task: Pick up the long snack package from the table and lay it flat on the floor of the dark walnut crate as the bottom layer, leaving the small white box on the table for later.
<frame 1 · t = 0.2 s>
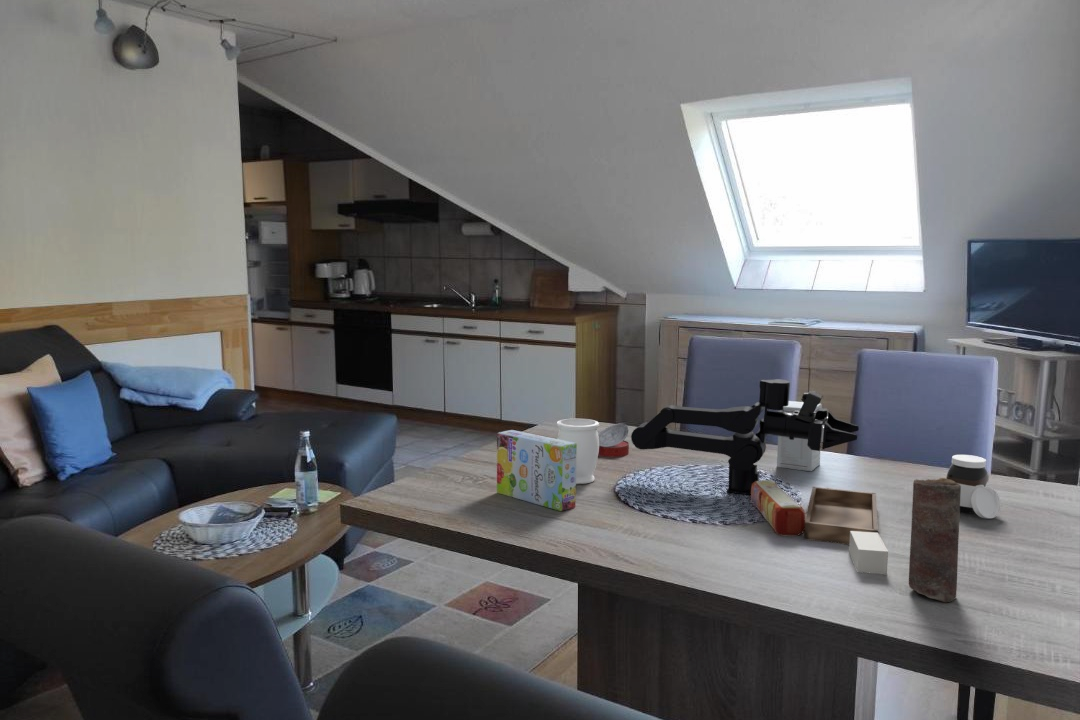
hand: (857, 432, 185), 17 cm above the table, tool horizontal, fingers open, 9 cm apart
snack box: (535, 500, 190), on the table
snack package: (774, 521, 176), on the table
canned food: (611, 453, 234), on the table
spread jar: (972, 512, 182), on the table
crate: (841, 522, 174), on the table
jar: (577, 480, 206), on the table
small white box: (867, 563, 152), on the table
weathered brick: (930, 595, 138), on the table
supplement box: (798, 466, 220), on the table
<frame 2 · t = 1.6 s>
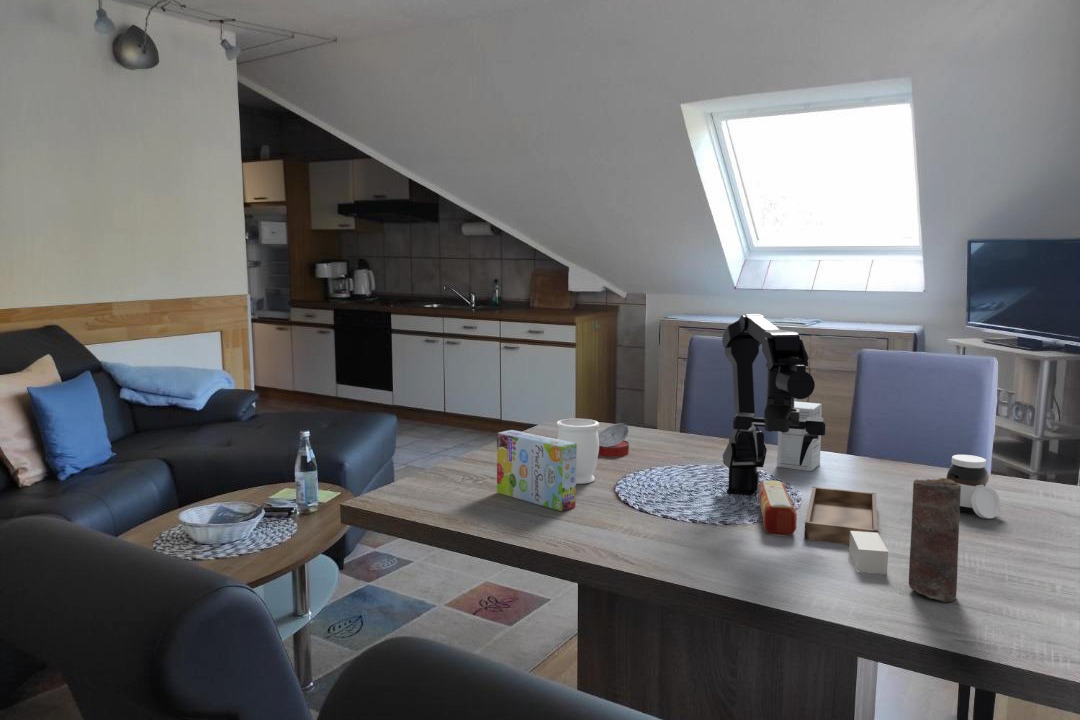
hand: (778, 463, 174), 13 cm above the table, tool pointing down, fingers open, 9 cm apart
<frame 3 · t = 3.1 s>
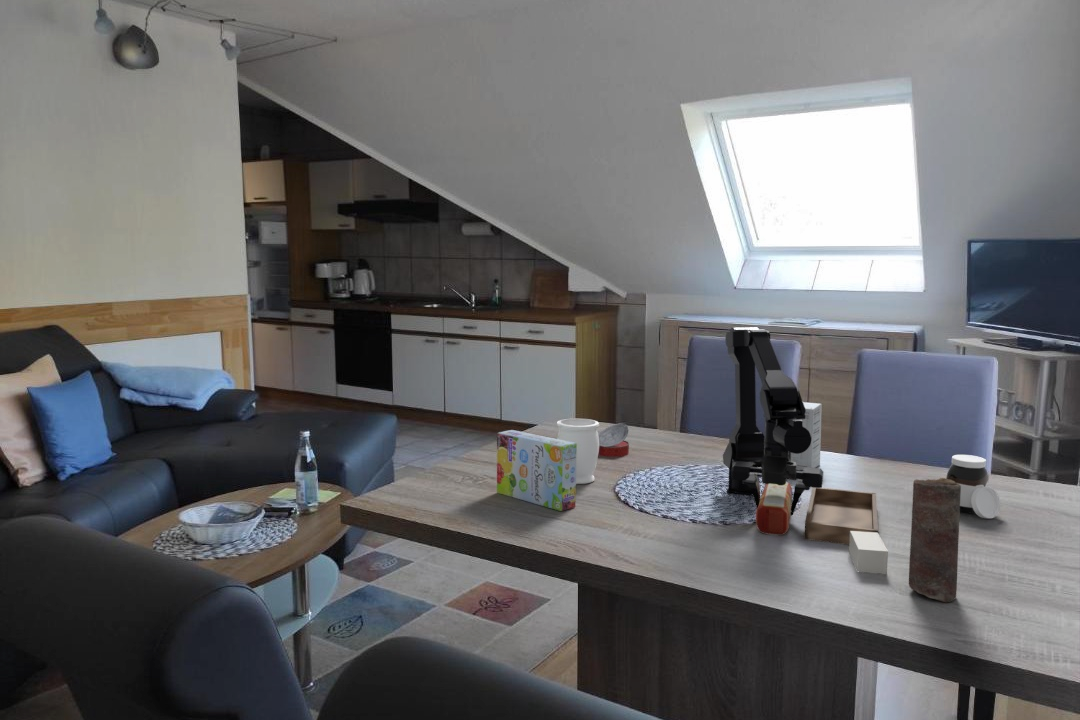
hand: (775, 512, 176), 2 cm above the table, tool pointing down, fingers closed on snack package, 6 cm apart
snack package: (774, 521, 176), on the table, touching gripper
everything else where it was.
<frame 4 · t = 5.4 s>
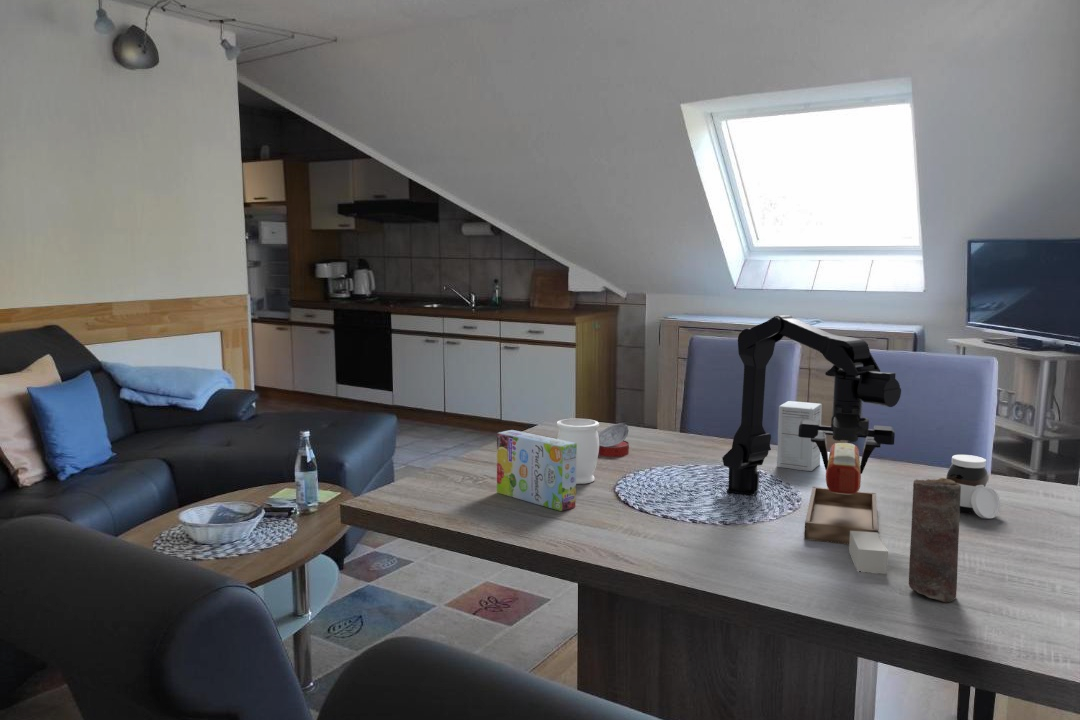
hand: (843, 471, 173), 11 cm above the table, tool pointing down, fingers closed on snack package, 6 cm apart
snack package: (842, 482, 173), point 9 cm above the table, touching gripper
everything else where it was.
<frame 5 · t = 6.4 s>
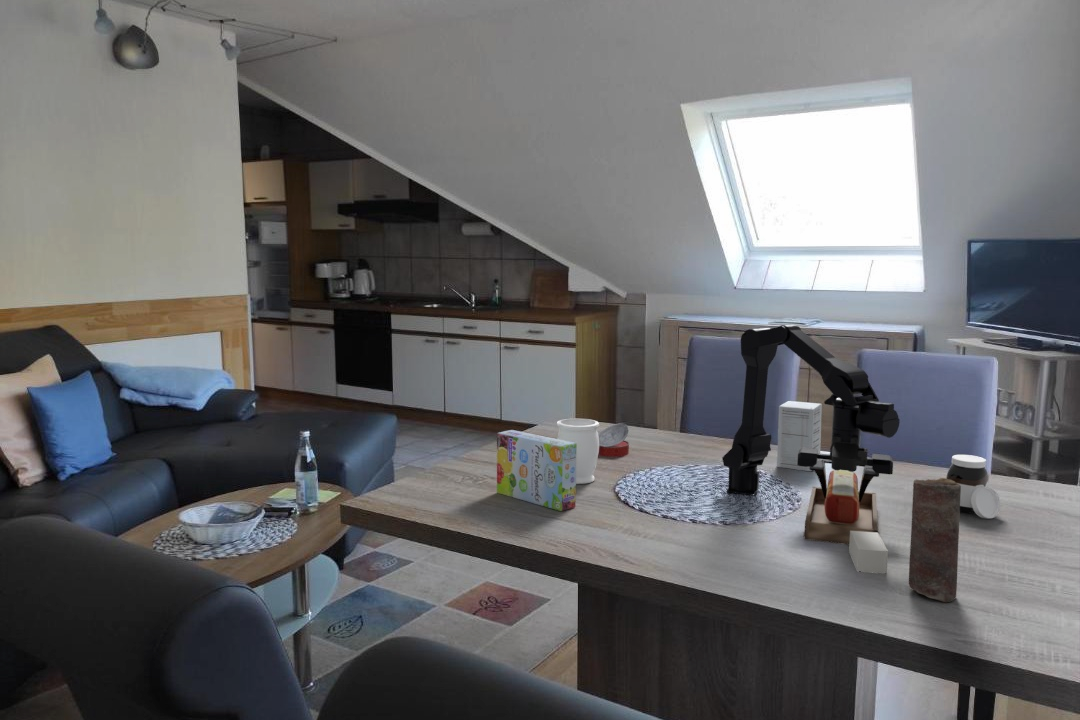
hand: (842, 499, 173), 5 cm above the table, tool pointing down, fingers closed on snack package, 6 cm apart
snack package: (840, 510, 174), point 3 cm above the table, touching gripper
everything else where it was.
when the fingers open (4 cm above the table, at t = 7.1 s): snack package drops 1 cm, resting on crate.
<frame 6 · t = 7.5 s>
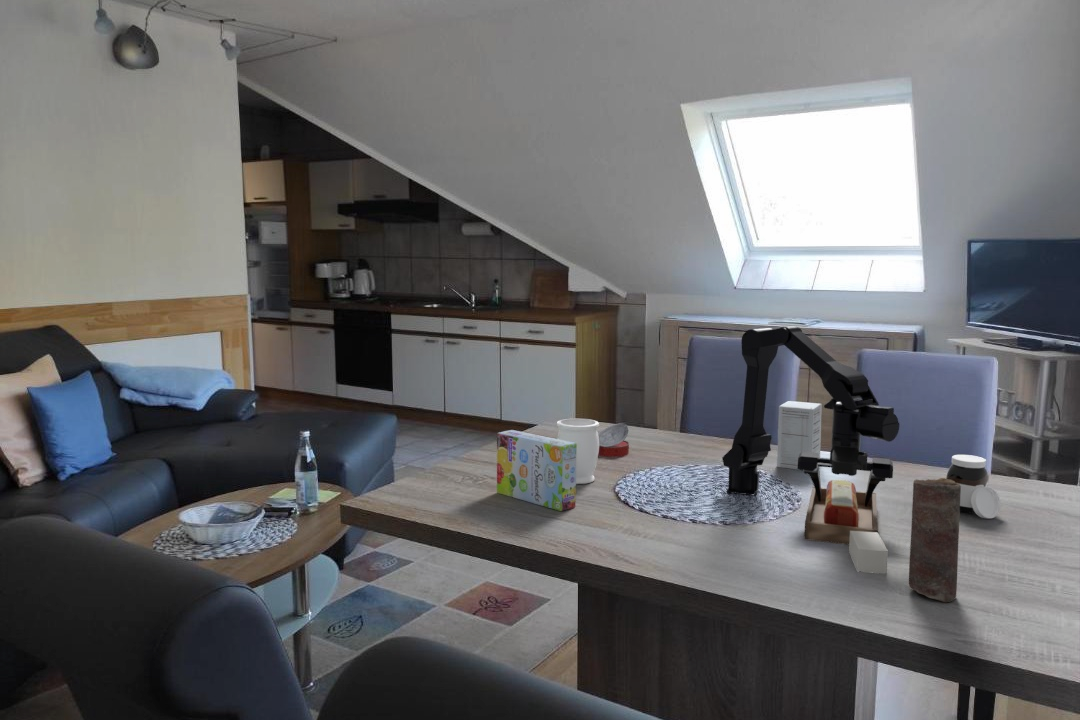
hand: (842, 503, 173), 4 cm above the table, tool pointing down, fingers open, 9 cm apart
snack package: (839, 520, 174), resting on crate
everything else where it was.
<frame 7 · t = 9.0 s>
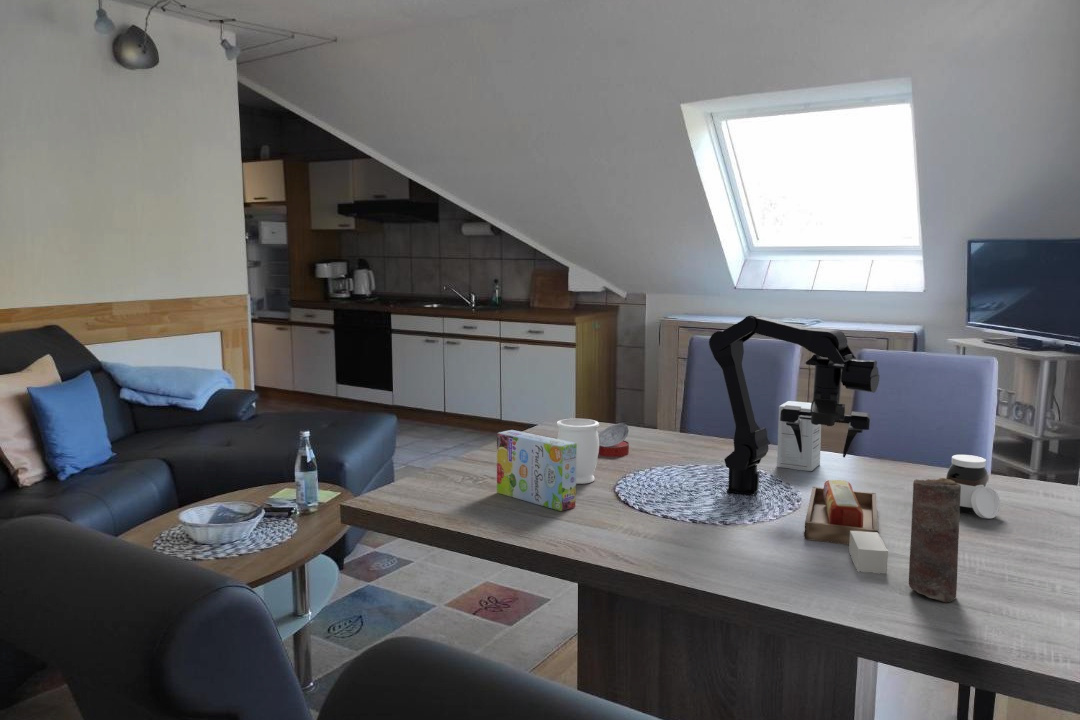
hand: (822, 454, 183), 12 cm above the table, tool pointing down, fingers open, 9 cm apart
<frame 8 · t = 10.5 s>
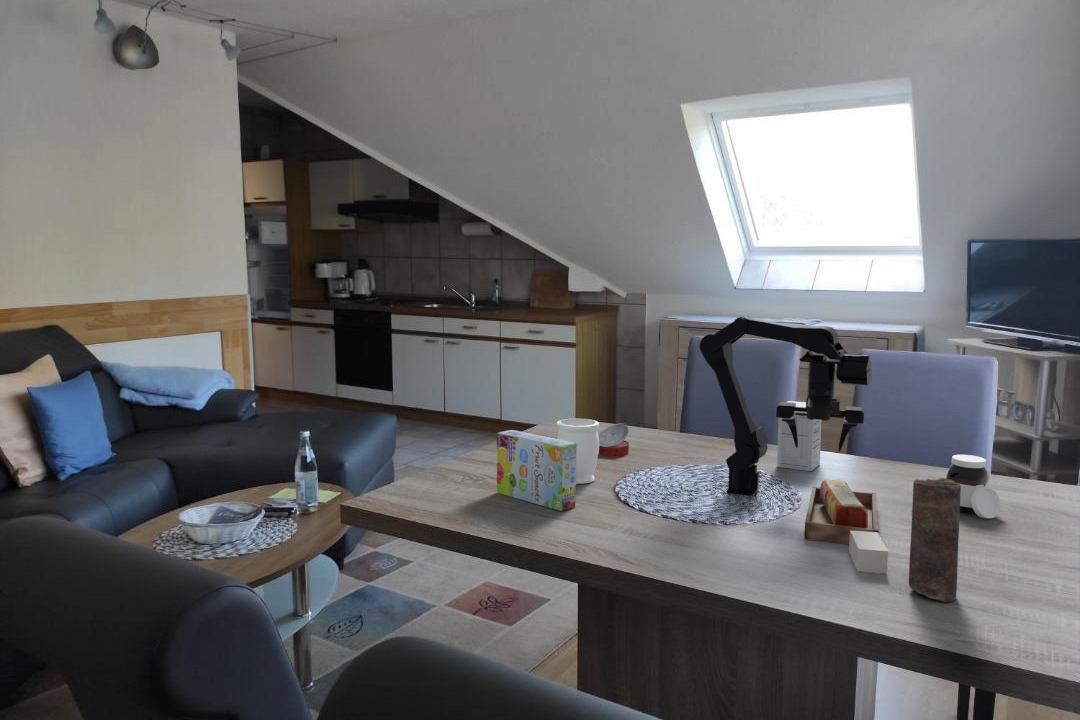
hand: (818, 449, 186), 13 cm above the table, tool pointing down, fingers open, 9 cm apart
at the end: snack package inside the target area on the crate (0.2 cm from its centre), point 0.4 cm above the crate's base; snack package tilted 0°; the gripper is holding nothing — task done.
